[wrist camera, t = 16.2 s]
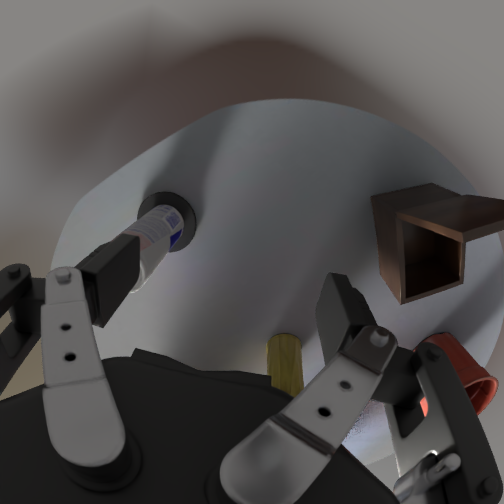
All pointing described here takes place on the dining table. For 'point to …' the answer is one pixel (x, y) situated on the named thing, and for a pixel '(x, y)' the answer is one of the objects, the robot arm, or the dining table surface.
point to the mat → (180, 206)
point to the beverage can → (155, 238)
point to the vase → (285, 363)
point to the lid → (459, 217)
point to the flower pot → (466, 372)
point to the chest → (415, 246)
